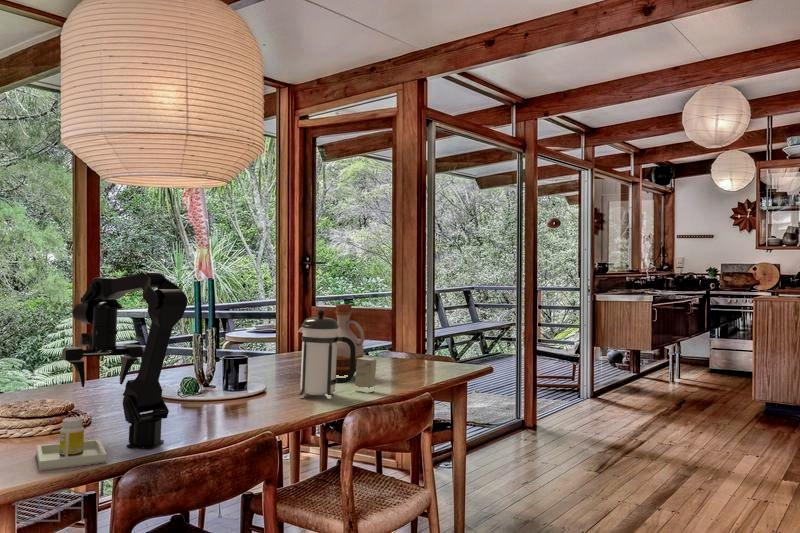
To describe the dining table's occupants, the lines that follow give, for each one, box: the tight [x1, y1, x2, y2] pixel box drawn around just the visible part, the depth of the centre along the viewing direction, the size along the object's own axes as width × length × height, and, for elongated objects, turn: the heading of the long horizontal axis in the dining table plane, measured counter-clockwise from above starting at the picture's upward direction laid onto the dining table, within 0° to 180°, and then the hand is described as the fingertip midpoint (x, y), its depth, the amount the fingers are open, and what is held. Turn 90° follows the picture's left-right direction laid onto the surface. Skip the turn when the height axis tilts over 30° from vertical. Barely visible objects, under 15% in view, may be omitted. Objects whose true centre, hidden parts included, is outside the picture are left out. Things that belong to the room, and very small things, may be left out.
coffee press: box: [297, 309, 356, 396], centre depth 222 cm, size 17×16×30 cm
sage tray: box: [35, 438, 108, 472], centre depth 143 cm, size 13×13×2 cm
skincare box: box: [354, 356, 377, 388], centre depth 233 cm, size 6×4×12 cm
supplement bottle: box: [59, 416, 85, 458], centre depth 143 cm, size 5×5×8 cm
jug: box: [335, 304, 365, 376], centre depth 260 cm, size 20×18×30 cm
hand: (102, 385), depth 166 cm, fingers open, 9 cm apart
